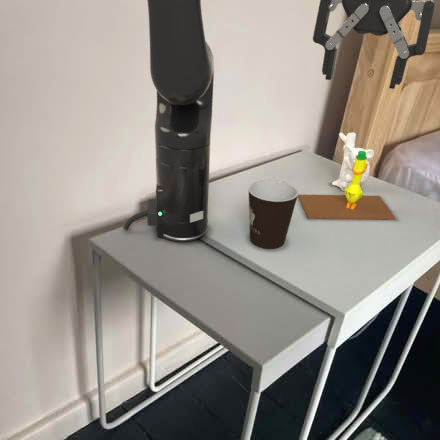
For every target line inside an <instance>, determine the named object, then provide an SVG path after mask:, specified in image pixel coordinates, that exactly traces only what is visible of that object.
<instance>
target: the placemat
mask: <svg viewBox="0 0 440 440" xmlns="http://www.w3.org/2000/svg"><path fill="white" fill-rule="evenodd" d="M297 198H298V200H299V202H300V204H301V206H302V208H303V211H304V213H305V216H306V218H307V219H308V220H379V221H380V220H383V221H384V220H386V221H387V220H389V221H393V220H396V217H395V215H394V214H393V212H392V211H391V209H390V208H389V207H388V205H387V204H386V203H385V201H384V199H382V197H381V196H380V195H362V197H361V198H359V199H358V200H357V201H356V202H355V204H356V208H354V209H351V207H350V208H346V206H347V202H348V200H347V198H346V194H298V196H297ZM351 205H352V204H351Z"/></svg>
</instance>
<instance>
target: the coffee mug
mask: <svg viewBox="0 0 440 440" xmlns="http://www.w3.org/2000/svg"><path fill="white" fill-rule="evenodd" d="M298 195H299V190H298V189H297V188H296V187H295V186H294V185H292V184H291V183H288V182H286V181H281V180H275V179H263V180H257V181H254V182H252V183H251V184H249V186H248V212H249V213H248V217H249V241H250V243H251V244H252V245H253V246H255V247H257V248H260V249H263V250H277V249H280V248H281V247H284V245H285V243H286V239H287V236H288V232H289V228H290V226H291V225H290V224H291V221H292V217H293V214H294V210H295V206H296V203H297V199H298Z"/></svg>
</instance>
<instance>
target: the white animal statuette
mask: <svg viewBox="0 0 440 440" xmlns="http://www.w3.org/2000/svg"><path fill="white" fill-rule="evenodd" d="M338 136H339V137H340V140H342V142H343V143H344V144H343V147H342V151H343V159H342V164H341V168H340V169H339V174H338V175H339V176H338V179H336V180H334V181H332V182H331V185H332V186H335V187H338V188H340V189H341V191H342V192H344V191H345V188H347V187H348V186H349V185H350V184H351V183H352V176H353V170H352V167H353V166H354V163H355V158H356V156H357V155H358V152H359V151H365V152H366V157H367V159H366V160H367V161H366V163H367V164H368V166H367V169H366V171H365V172H364V173H363V176H362V178H361V181H360V184H362V183H364V182H365V181H366V180H367V179H368V178H369V175H370V173H371V172H370V171H371V166H370V160H371V159H373V157H374V155H375V151H374V150H373V149H372V148H370V149H364V148H362V147H356V140H357V133H356V132H354V131H353V132H348V133H346V135H345V134H344V132H339V134H338Z"/></svg>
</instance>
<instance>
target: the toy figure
mask: <svg viewBox="0 0 440 440" xmlns="http://www.w3.org/2000/svg"><path fill="white" fill-rule="evenodd" d="M366 159H367V157H366V152H365V151H359V152H358V155H357V156H356V158H355V163H354V166H353V167H352V170H353V176H352V183H351V184H350V185H349V186H348V187H347V188H345V191H343V192H344V193H343V194H344V195H346V198H347V200H348V202H347V206H346V208H350V207H351V209H354V208H356V204H355V202H356V201H357V200H358V199H359V198H361V197H362V196H363V194H364V192H363V191H362V187H361V185H360V184H361V183H360V181H361V178H362V176H363V173H364V172H365V171H366V169H367V166H368V164H367V163H366V161H367V160H366ZM351 204H352V205H351Z"/></svg>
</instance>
